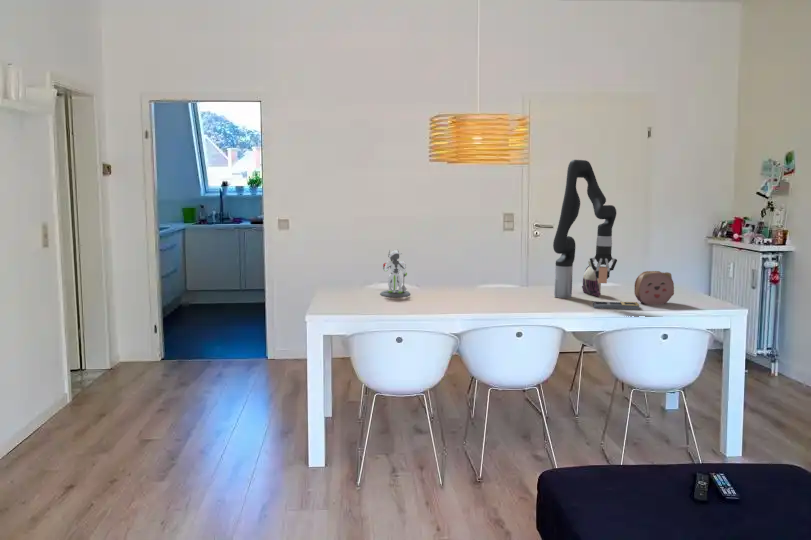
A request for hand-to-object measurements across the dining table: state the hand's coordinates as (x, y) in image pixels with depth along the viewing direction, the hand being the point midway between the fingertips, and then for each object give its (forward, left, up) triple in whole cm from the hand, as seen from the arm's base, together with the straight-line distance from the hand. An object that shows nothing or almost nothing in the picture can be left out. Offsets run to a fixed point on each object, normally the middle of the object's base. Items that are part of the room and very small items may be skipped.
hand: (602, 278), depth 371 cm
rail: (+7, 0, -15) cm, 16 cm away
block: (0, 0, -2) cm, 2 cm away
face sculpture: (+28, +16, -15) cm, 36 cm away
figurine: (-110, +16, -15) cm, 112 cm away
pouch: (-2, +36, -15) cm, 39 cm away
